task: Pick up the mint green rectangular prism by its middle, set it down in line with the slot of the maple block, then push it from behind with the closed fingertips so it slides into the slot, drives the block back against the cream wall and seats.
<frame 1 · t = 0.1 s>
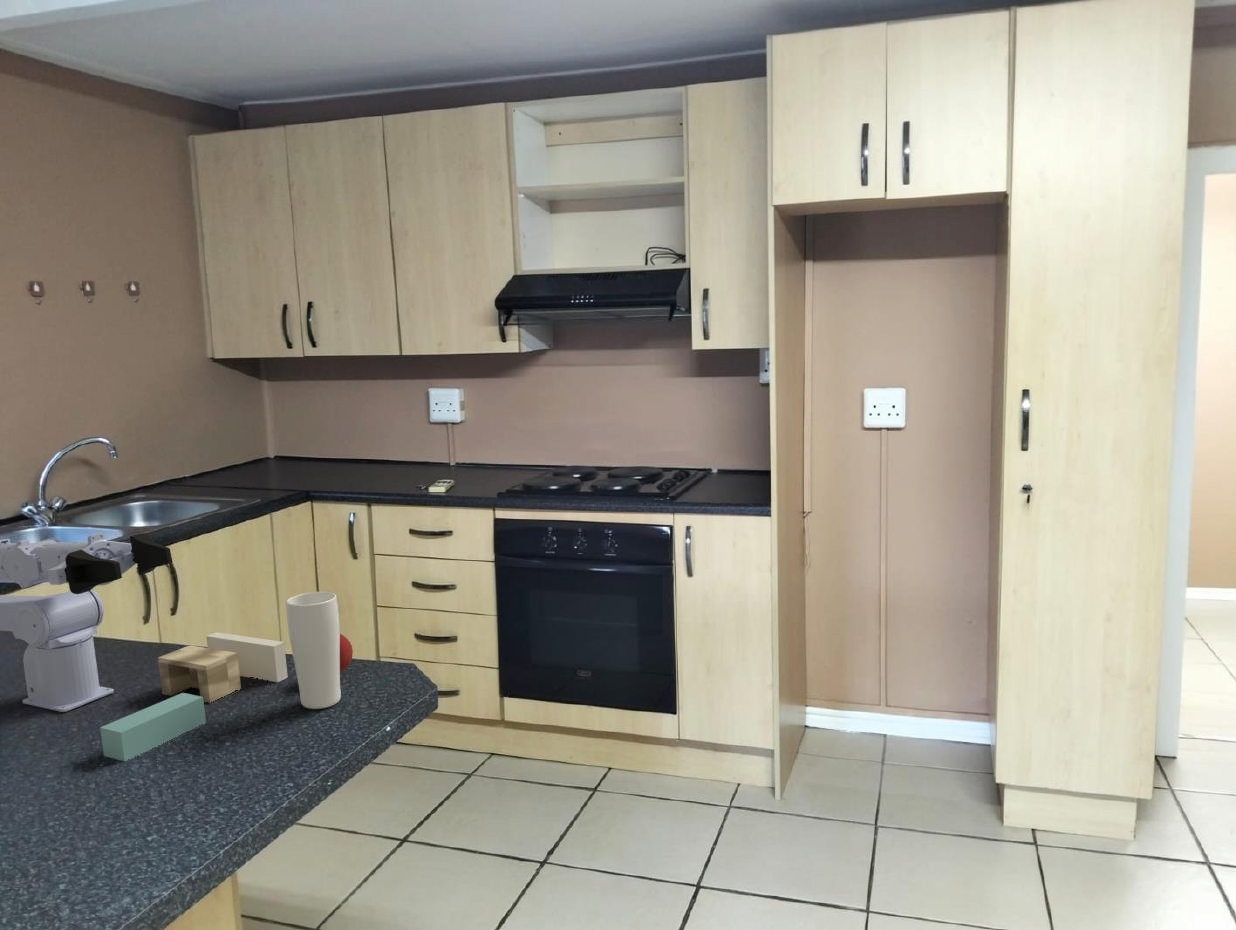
hand: (144, 563, 131), 22 cm above the countertop, tool horizontal, fingers open, 7 cm apart
wall: (248, 674, 150), on the countertop
drinking glass: (321, 704, 137), on the countertop
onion: (334, 679, 147), on the countertop
block: (199, 673, 143), point 3 cm above the countertop, slide at 0.0 cm
mint green rectangular prism: (157, 741, 128), on the countertop
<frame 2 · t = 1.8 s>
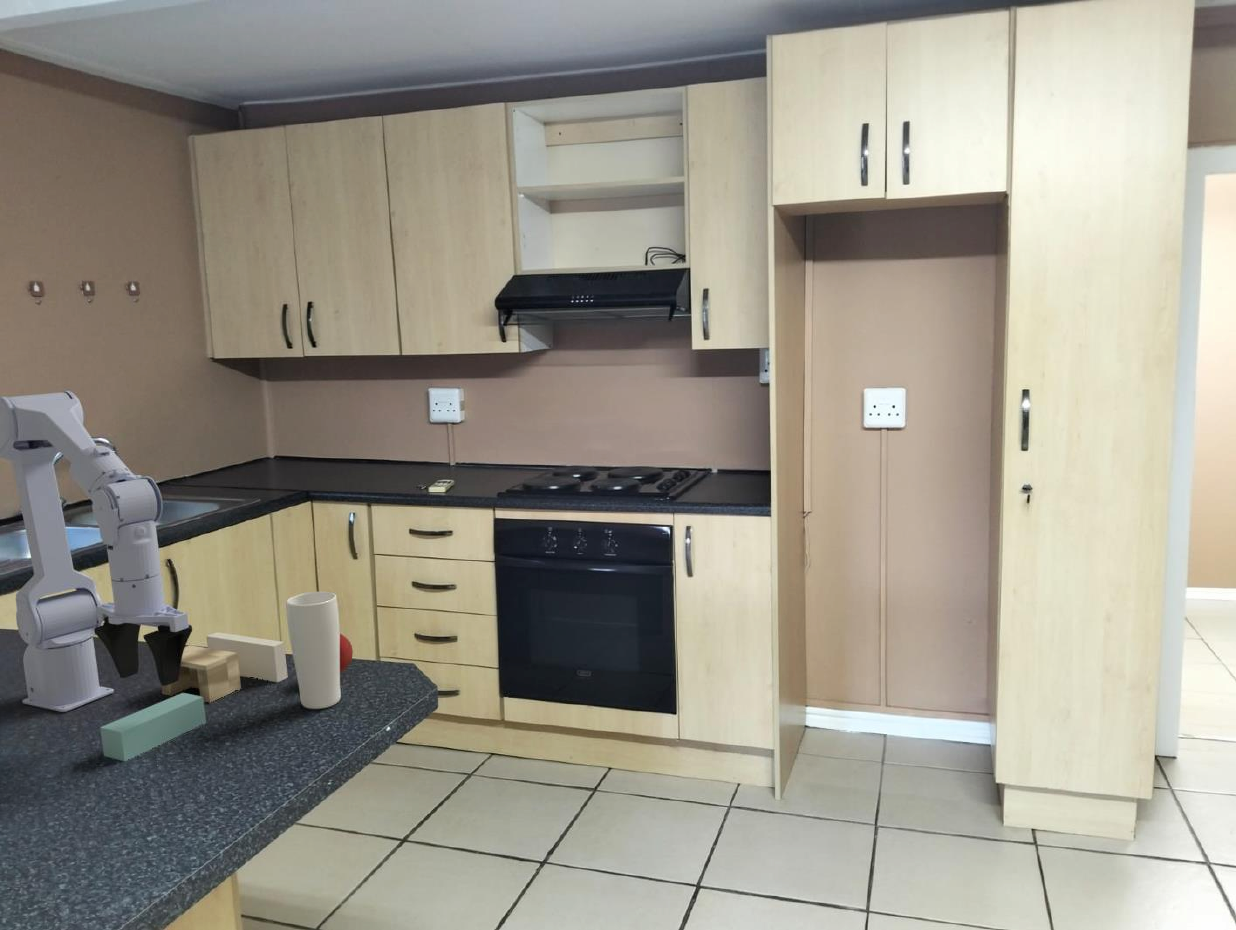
hand: (149, 679, 126), 8 cm above the countertop, tool pointing down, fingers open, 7 cm apart
nothing on the countertop moved.
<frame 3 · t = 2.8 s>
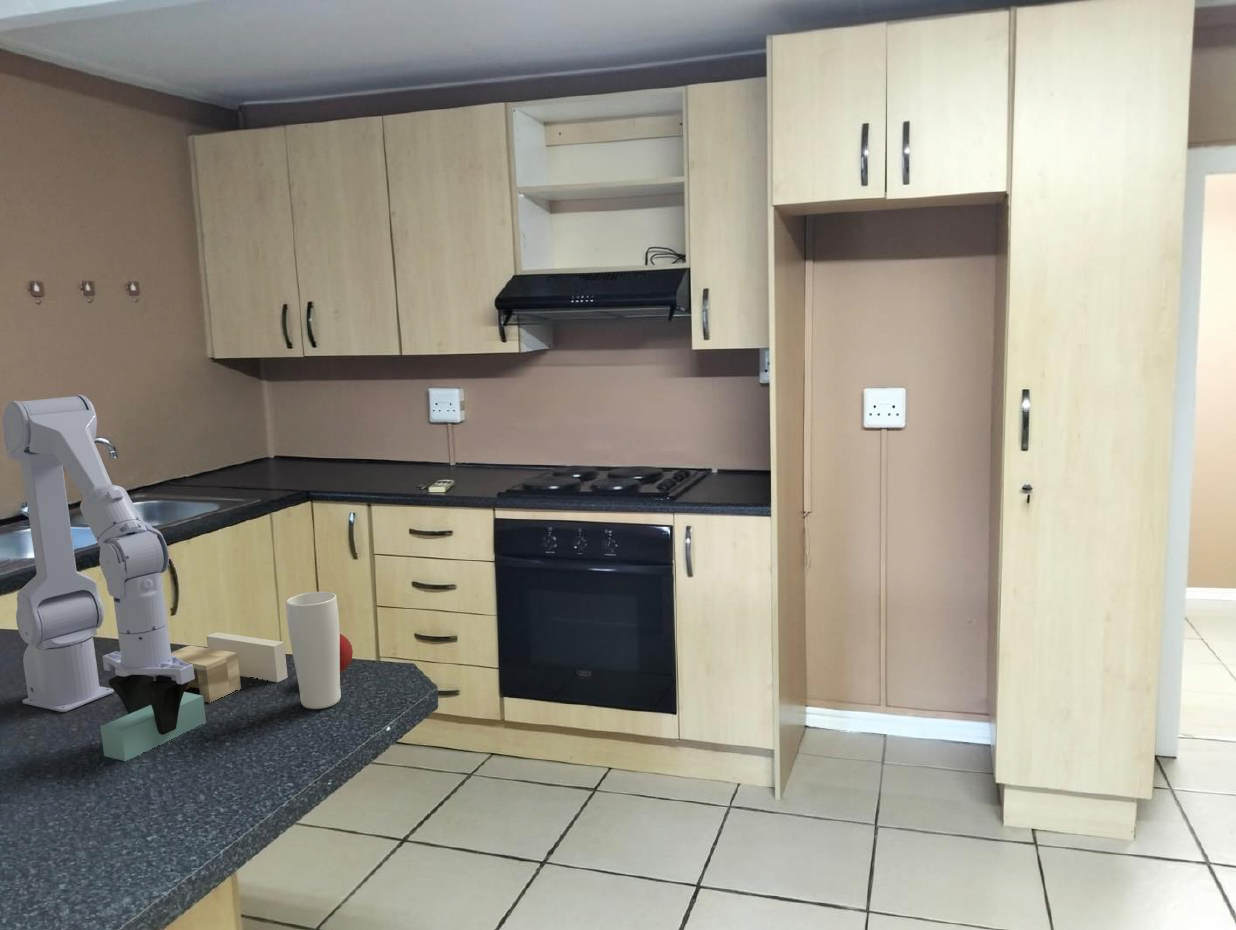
hand: (155, 728, 127), 1 cm above the countertop, tool pointing down, fingers closed on mint green rectangular prism, 4 cm apart
mint green rectangular prism: (157, 740, 128), on the countertop, touching gripper
everything else where it was.
when the fingers open (2 cm above the countertop, at t = 5.7 s): mint green rectangular prism stays where it is, on the countertop.
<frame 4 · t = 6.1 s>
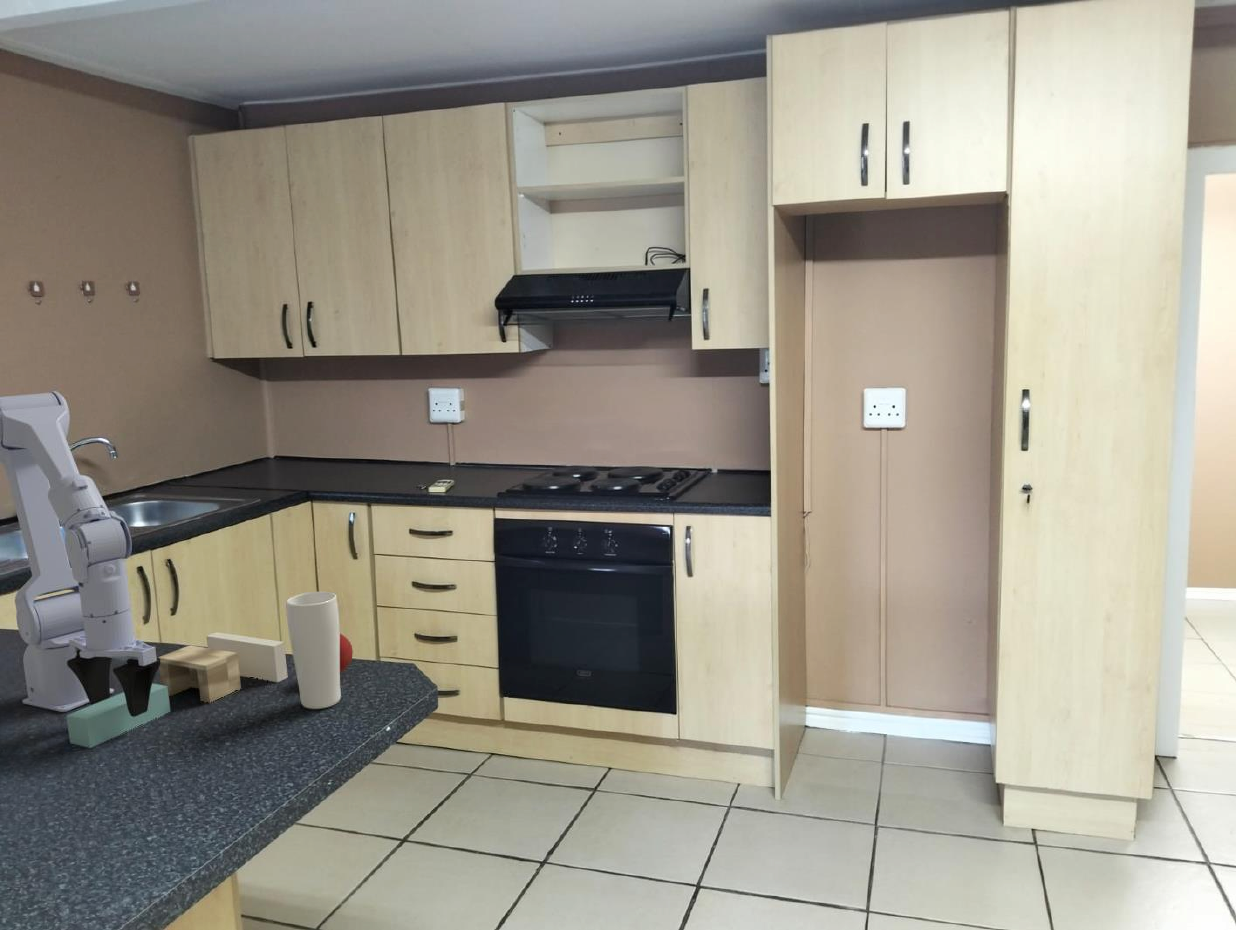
hand: (119, 709, 132), 2 cm above the countertop, tool pointing down, fingers open, 7 cm apart
mint green rectangular prism: (122, 728, 132), on the countertop
everything else where it was.
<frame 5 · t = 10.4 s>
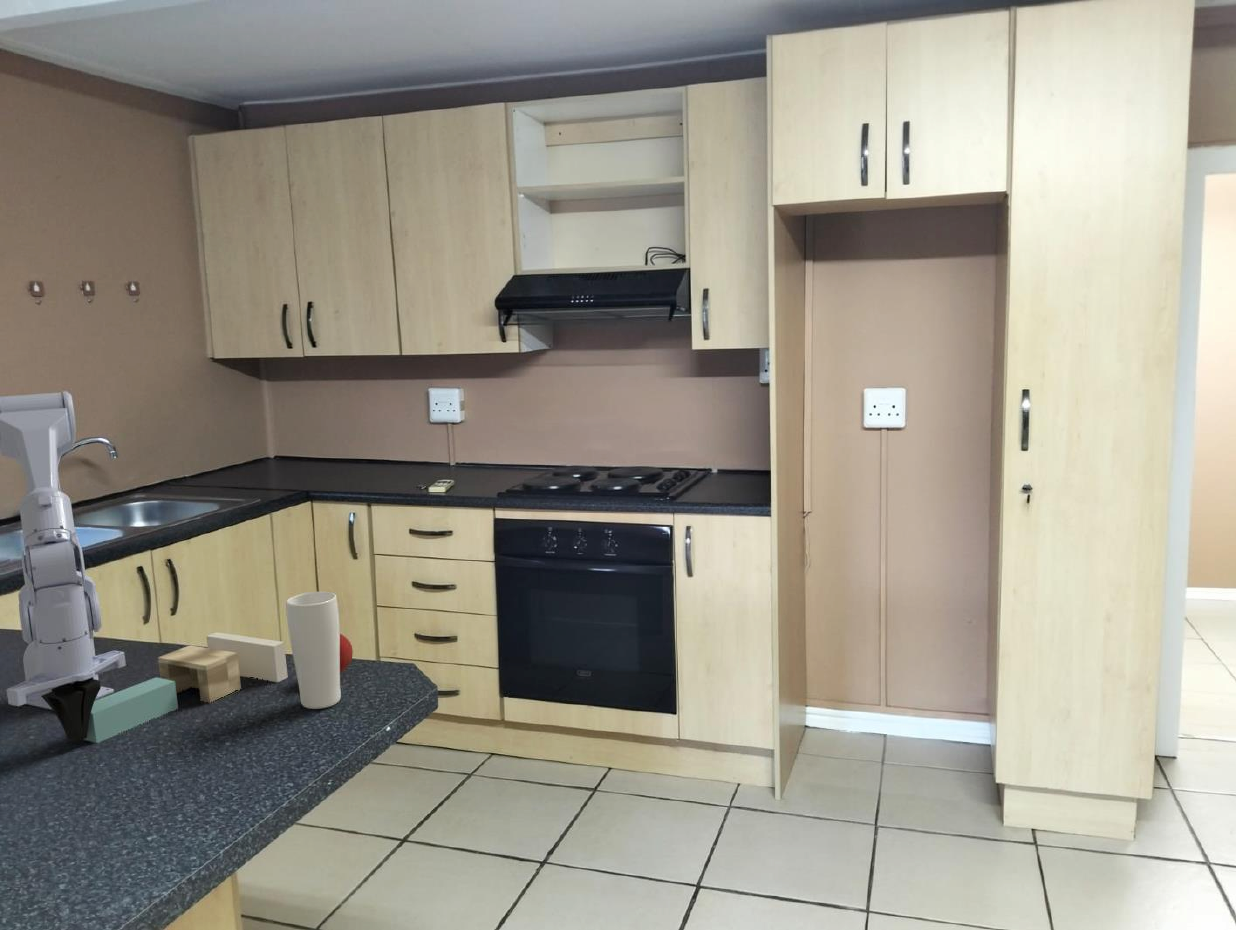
hand: (77, 738, 126), 1 cm above the countertop, tool pointing down, fingers closed
mint green rectangular prism: (129, 722, 133), on the countertop
everything else where it was.
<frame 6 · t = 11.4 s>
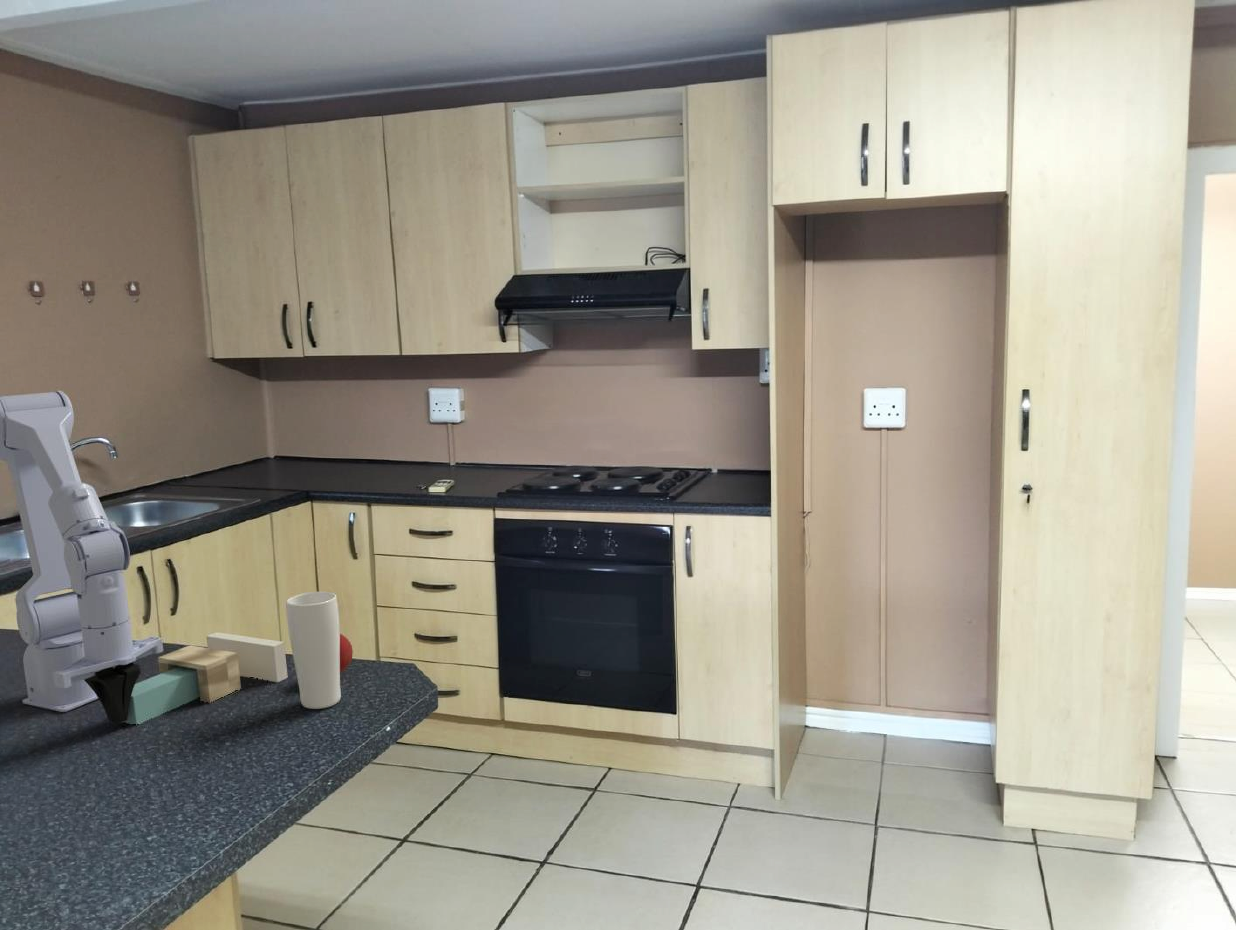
hand: (118, 720, 132), 1 cm above the countertop, tool pointing down, fingers closed
mint green rectangular prism: (164, 706, 139), on the countertop, touching gripper
everything else where it was.
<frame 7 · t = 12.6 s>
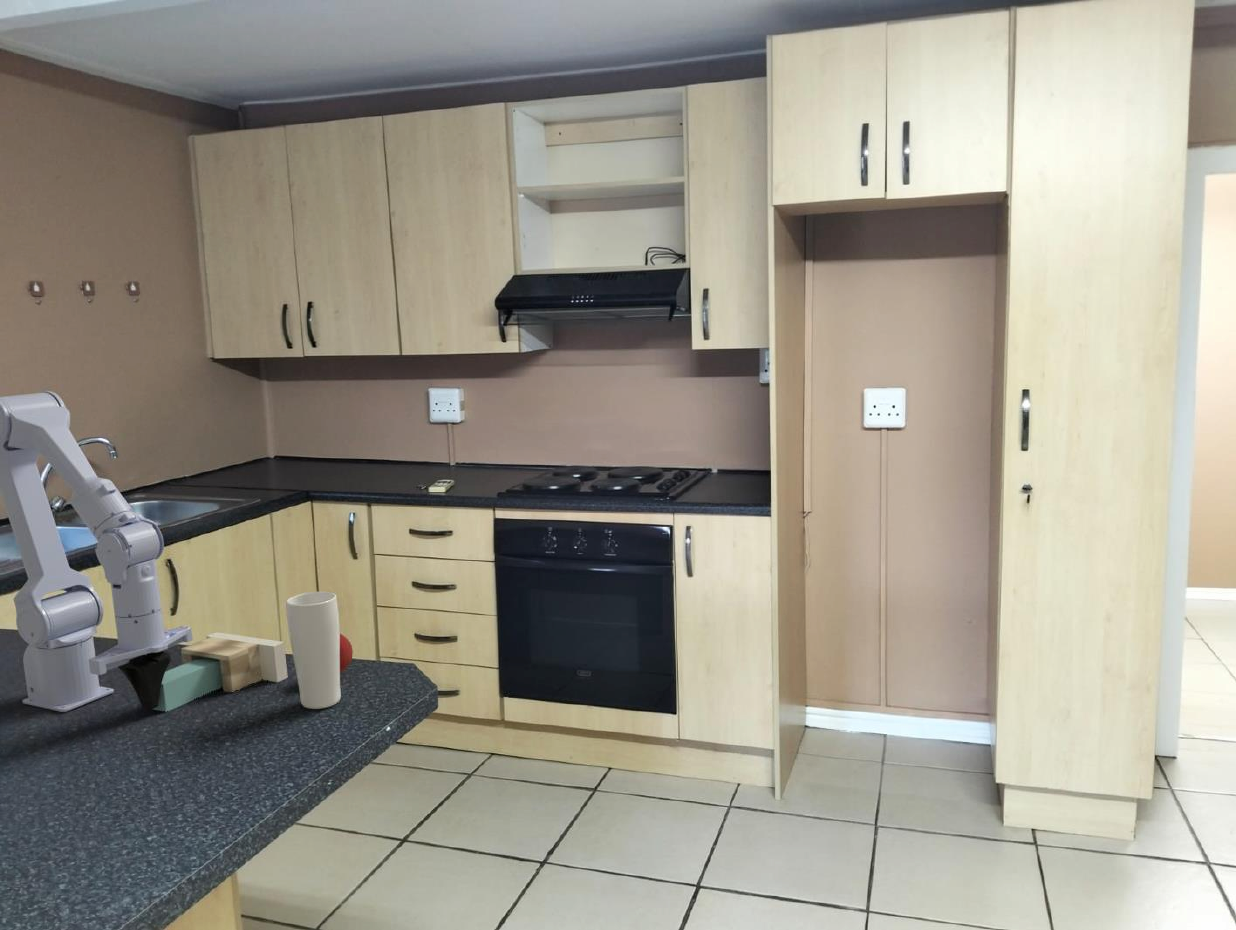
hand: (150, 707, 136), 1 cm above the countertop, tool pointing down, fingers closed
block: (221, 664, 147), point 3 cm above the countertop, slide at 4.0 cm, touching mint green rectangular prism, wall
mint green rectangular prism: (192, 694, 143), on the countertop, touching block, gripper
everything else where it was.
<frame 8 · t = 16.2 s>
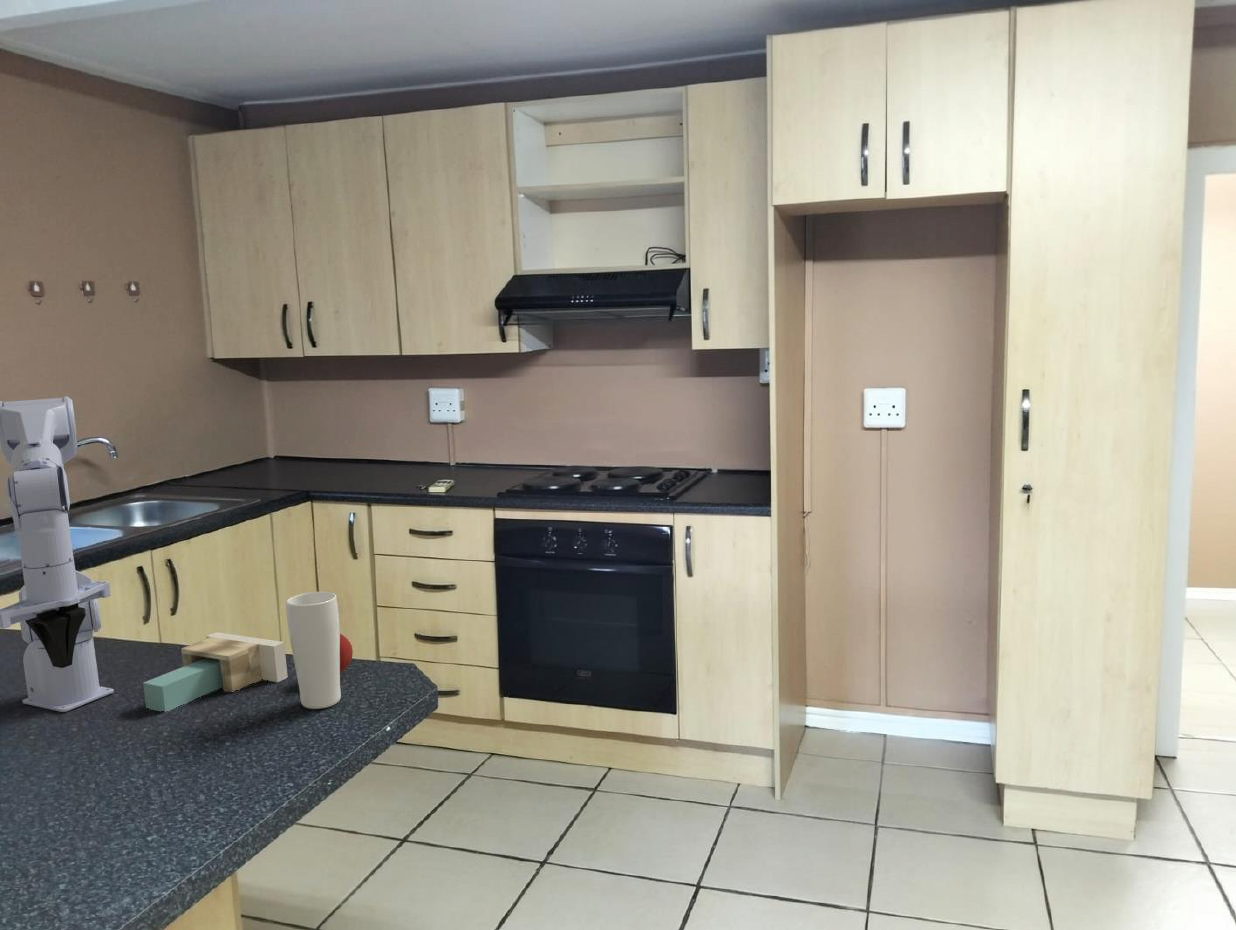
hand: (62, 665, 128), 10 cm above the countertop, tool pointing down, fingers closed
block: (221, 664, 147), point 3 cm above the countertop, slide at 4.0 cm, touching wall
mint green rectangular prism: (192, 696, 143), on the countertop
everything else where it was.
at the end: block slide at 4.0 cm; mint green rectangular prism 1.6 cm from the target spot on the block, point 0.0 cm above the block's base; the gripper is holding nothing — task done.
